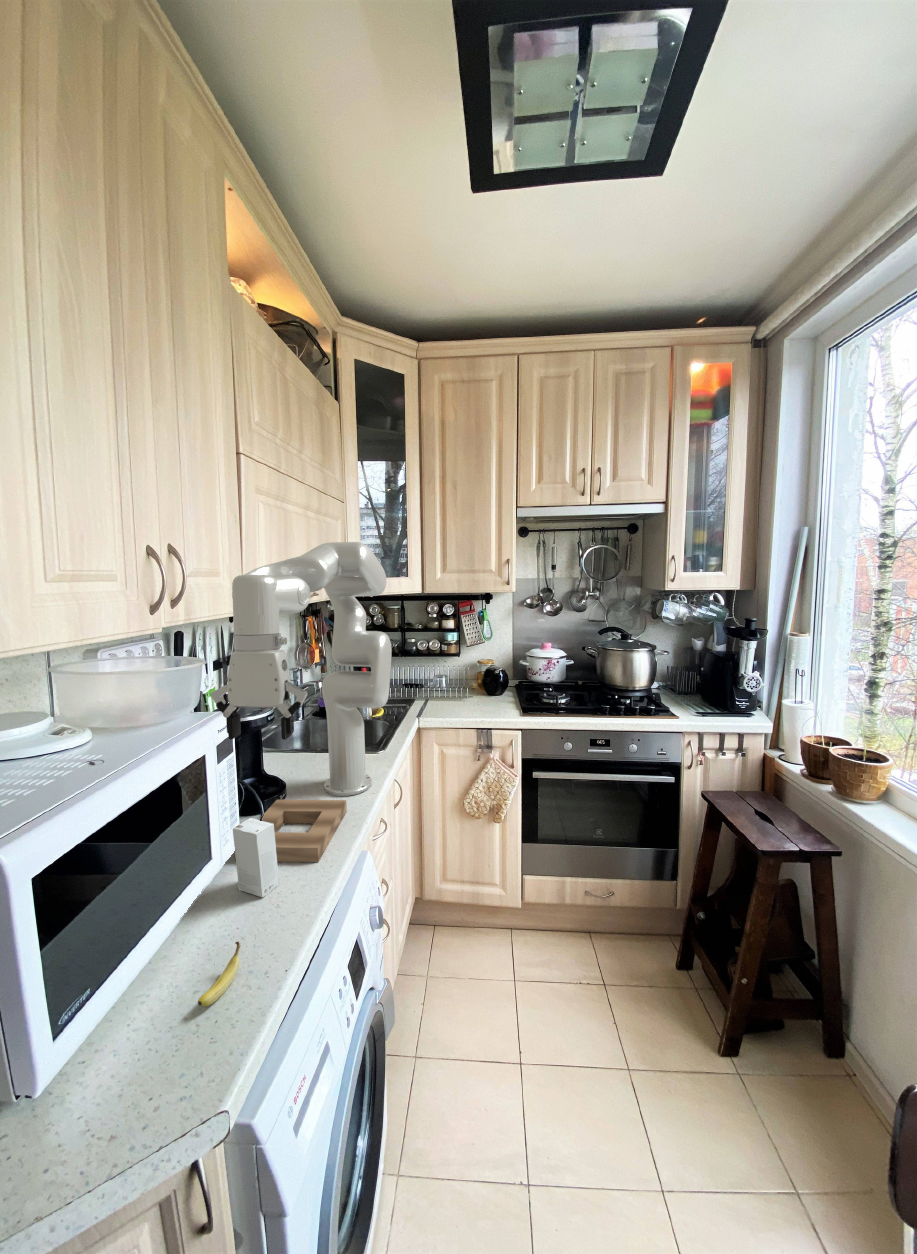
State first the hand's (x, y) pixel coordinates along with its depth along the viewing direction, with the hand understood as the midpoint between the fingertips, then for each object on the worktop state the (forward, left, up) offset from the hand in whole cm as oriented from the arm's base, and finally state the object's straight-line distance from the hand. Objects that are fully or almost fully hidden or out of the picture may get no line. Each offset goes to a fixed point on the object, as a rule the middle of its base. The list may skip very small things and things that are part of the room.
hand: (260, 737), depth 85 cm
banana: (+24, +4, -28) cm, 37 cm away
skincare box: (+3, -1, -28) cm, 28 cm away
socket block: (-15, -1, -28) cm, 32 cm away
